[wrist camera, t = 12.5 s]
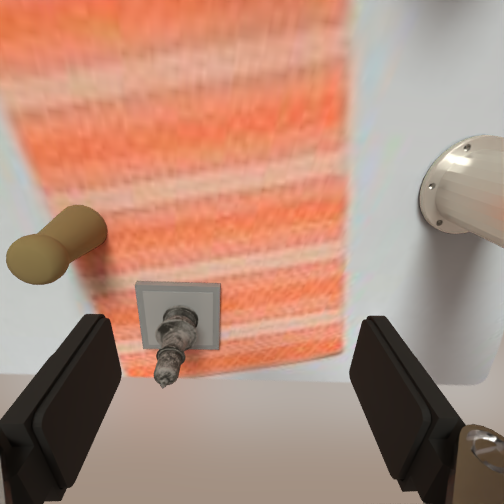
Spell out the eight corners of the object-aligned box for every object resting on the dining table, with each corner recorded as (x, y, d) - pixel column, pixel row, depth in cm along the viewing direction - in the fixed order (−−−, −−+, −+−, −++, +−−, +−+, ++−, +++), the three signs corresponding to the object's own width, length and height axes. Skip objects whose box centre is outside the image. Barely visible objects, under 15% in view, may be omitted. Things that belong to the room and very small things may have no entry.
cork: (78, 254, 39) (24, 302, 29) (48, 216, 36) (-23, 254, 26) (116, 237, 38) (74, 281, 28) (87, 197, 35) (30, 228, 25)
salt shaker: (196, 337, 44) (184, 408, 34) (158, 330, 44) (133, 401, 33) (203, 307, 42) (193, 373, 31) (163, 300, 41) (138, 365, 30)
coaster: (220, 283, 42) (220, 287, 41) (219, 345, 47) (218, 350, 46) (137, 281, 41) (134, 285, 40) (145, 344, 46) (142, 349, 45)
